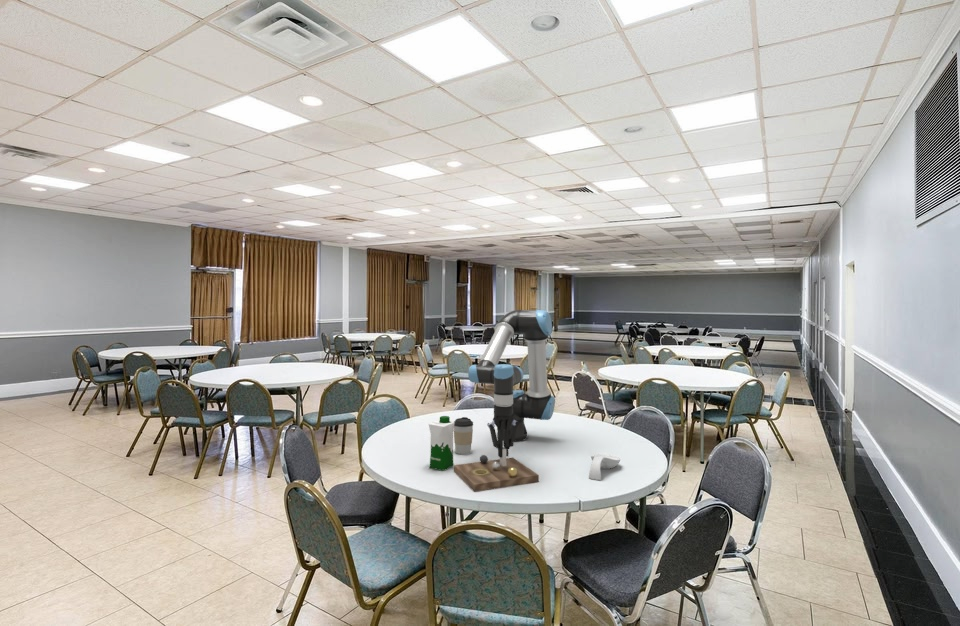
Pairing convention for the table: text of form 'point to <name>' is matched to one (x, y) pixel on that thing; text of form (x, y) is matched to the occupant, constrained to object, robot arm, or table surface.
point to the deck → (494, 474)
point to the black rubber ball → (483, 459)
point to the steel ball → (496, 466)
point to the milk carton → (441, 443)
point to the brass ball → (512, 471)
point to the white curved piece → (602, 464)
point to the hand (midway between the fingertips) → (503, 465)
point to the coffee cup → (463, 435)
